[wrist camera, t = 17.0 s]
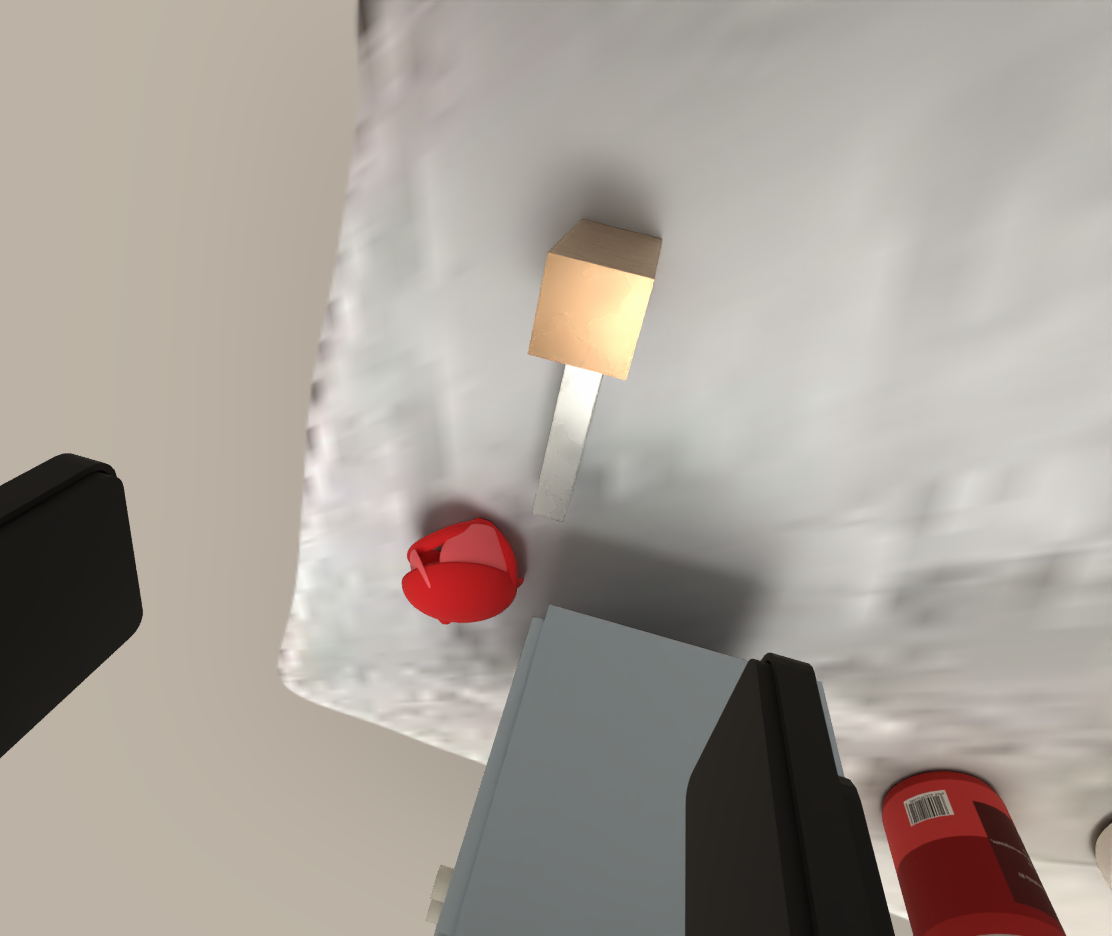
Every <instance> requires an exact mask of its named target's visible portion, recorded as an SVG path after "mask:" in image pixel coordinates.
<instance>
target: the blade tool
mask: <svg viewBox="0 0 1112 936" xmlns="http://www.w3.org/2000/svg"><path fill="white" fill-rule="evenodd" d="M661 243H662V239H659V238H655V237H651V236H647V235H643V234H639V233H635V232H632V231H628V230H624V229H620V228H616V227H612V226H608V225H604V224H600V223H596V222H592V221H588V220H584V219H582V220H581V221H580V222H579V223H578V224H577V225H576V226H575V227H573V228H572V229H571V230H570V231H569V232H568V233H567V234H566V235H565V236H564V237H563V238H562V239H561V240H560V241H559V242H558V243H557V244H556V245H555V246H554V247H553V248H552V249H551V250H550V251H549V252H548V255H547V260H546V265H545V270H544V275H543V280H542V285H541V290H540V295H539V300H538V306H537V311H536V316H535V321H534V326H533V331H532V336H531V341H530V346H529V351H528V354H529V355H533V356H537V357H541V358H544V359H548V360H552V361H556V362H559V363H563V364H566V366H565V370H564V375H563V379H562V383H561V388H560V392H559V396H558V401H557V405H556V409H555V414H554V418H553V423H552V427H551V431H550V436H549V440H548V444H547V449H546V453H545V457H544V462H543V466H542V470H541V475H540V479H539V483H538V488H537V492H536V496H535V501H534V505H533V510H532V513H533V514H537V515H540V516H544V517H548V518H551V519H555V520H558V521H562V522H563V520H564V517H565V514H566V511H567V507H568V504H569V501H570V497H571V494H572V491H573V487H574V483H575V480H576V476H577V472H578V468H579V464H580V461H581V457H582V453H583V449H584V445H585V442H586V438H587V434H588V430H589V426H590V423H591V419H592V415H593V411H594V407H595V404H596V400H597V396H598V392H599V388H600V385H601V381H602V377H603V374H605V375H608V376H612V377H616V378H620V379H624V380H626V378H627V374H628V371H629V367H630V364H631V360H632V357H633V353H634V350H635V346H636V343H637V339H638V336H639V332H640V329H641V325H642V322H643V318H644V314H645V311H646V307H647V304H648V300H649V297H650V293H651V290H652V286H653V283H654V279H655V274H656V269H657V264H658V259H659V254H660V248H661Z"/></svg>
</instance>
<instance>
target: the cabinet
mask: <svg viewBox="0 0 1112 936" xmlns="http://www.w3.org/2000/svg"><path fill="white" fill-rule="evenodd" d="M747 663H748V661H746V660H742V659H739V658H735V657H732V656H728V655H725V654H722V653H718V652H715V651H711V650H708V649H704V648H701V647H697V646H694V645H690V644H687V643H683V642H680V641H676V640H673V639H669V638H666V637H662V636H659V635H655V634H652V633H648V632H645V631H641V630H638V629H634V628H631V627H627V626H624V625H620V624H617V623H613V622H610V621H606V620H603V619H599V618H596V617H592V616H589V615H585V614H582V613H578V612H575V611H571V610H568V609H564V608H561V607H557V606H554V605H550V604H549V606H548V610H547V613H546V617H545V620H544V619H540V618H537V617H533V618H532V622H531V625H530V628H529V631H528V634H527V638H526V641H525V644H524V647H523V650H522V654H521V657H520V660H519V663H518V666H517V670H516V673H515V676H514V679H513V682H512V686H511V689H510V692H509V695H508V698H507V702H506V705H505V708H504V711H503V715H502V718H501V721H500V724H499V727H498V731H497V734H496V737H495V740H494V743H493V747H492V750H491V753H490V756H489V759H488V763H487V766H486V769H485V772H484V775H483V779H482V782H481V785H480V788H479V791H478V795H477V798H476V801H475V805H474V808H473V811H472V814H471V817H470V820H469V824H468V827H467V830H466V833H465V836H464V840H463V843H462V846H461V849H460V852H459V856H458V859H457V862H456V865H455V868H454V869H453V868H450V867H446V866H443V865H440V868H439V871H438V874H437V876H436V880H435V883H434V886H433V890H432V893H431V899H432V900H431V903H430V906H429V910H428V913H427V917H426V921H428V922H431V923H434V924H437V926H436V930H435V934H434V936H685V805H686V792H687V786H688V782H689V779H690V776H691V774H692V772H693V770H694V768H695V766H696V764H697V762H698V760H699V758H700V756H701V754H702V752H703V750H704V748H705V746H706V744H707V742H708V740H709V738H710V736H711V734H712V732H713V730H714V728H715V726H716V724H717V722H718V720H719V718H720V716H721V714H722V712H723V710H724V708H725V706H726V704H727V702H728V700H729V698H730V696H731V694H732V692H733V690H734V688H735V686H736V684H737V682H738V680H739V678H740V676H741V674H742V672H743V670H744V668H745V666H746V665H747ZM817 685H818V690H819V694H820V698H821V703H822V707H823V712H824V716H825V720H826V725H827V729H828V733H829V738H830V742H831V747H832V751H833V755H834V760H835V764H836V768H837V773H838V775H839V776H842V777H844V773H843V769H842V765H841V761H840V757H839V752H838V748H837V744H836V740H835V736H834V731H833V727H832V723H831V719H830V715H829V710H828V706H827V702H826V698H825V693H824V689H823V685H822V682H819V681H817Z"/></svg>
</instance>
